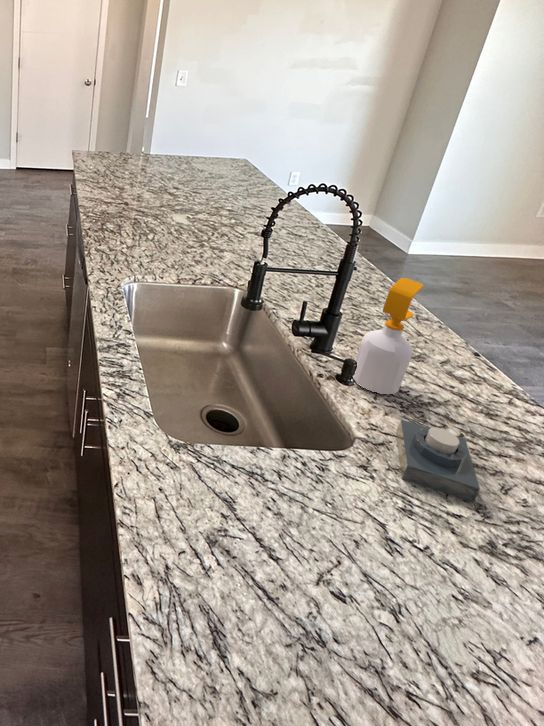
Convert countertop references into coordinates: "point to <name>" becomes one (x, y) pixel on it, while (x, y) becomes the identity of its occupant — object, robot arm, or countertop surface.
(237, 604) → the countertop surface
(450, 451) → the flush button
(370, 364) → the soap bottle
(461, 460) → the push button base
